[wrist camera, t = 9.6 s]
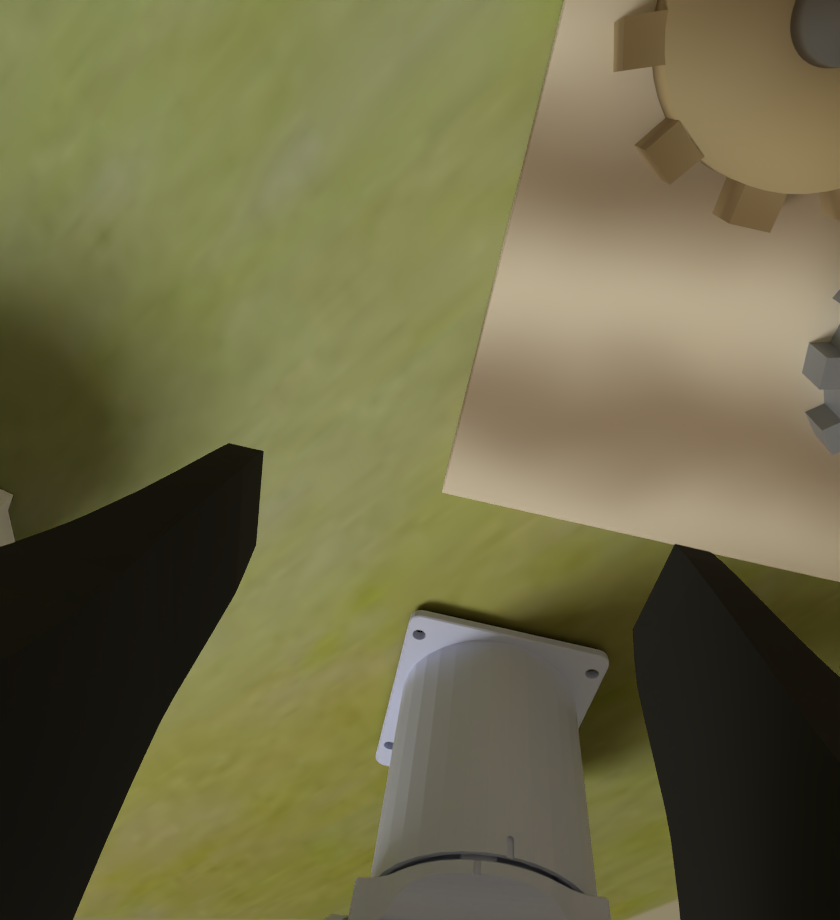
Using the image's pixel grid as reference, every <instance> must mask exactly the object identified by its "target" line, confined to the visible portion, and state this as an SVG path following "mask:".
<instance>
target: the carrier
mask: <svg viewBox="0 0 840 920" xmlns="http://www.w3.org/2000/svg"><path fill="white" fill-rule="evenodd" d="M839 290H840V0H564V2H563V6H562V10H561V14H560V18H559V22H558V26H557V30H556V34H555V38H554V42H553V46H552V50H551V54H550V58H549V62H548V66H547V70H546V74H545V78H544V82H543V86H542V90H541V94H540V98H539V102H538V106H537V110H536V114H535V118H534V122H533V126H532V130H531V134H530V138H529V142H528V146H527V150H526V154H525V158H524V162H523V166H522V170H521V174H520V178H519V182H518V186H517V190H516V194H515V198H514V202H513V206H512V210H511V214H510V218H509V222H508V226H507V230H506V234H505V238H504V242H503V246H502V250H501V254H500V258H499V262H498V266H497V270H496V274H495V278H494V282H493V286H492V290H491V294H490V298H489V302H488V306H487V310H486V314H485V318H484V322H483V326H482V330H481V334H480V338H479V342H478V346H477V350H476V354H475V358H474V362H473V366H472V370H471V374H470V378H469V382H468V386H467V390H466V394H465V398H464V402H463V406H462V410H461V414H460V418H459V422H458V426H457V430H456V434H455V438H454V442H453V446H452V450H451V454H450V458H449V462H448V466H447V470H446V474H445V479H444V485H443V491H442V493H447V494H451V495H455V496H460V497H464V498H469V499H473V500H478V501H482V502H486V503H491V504H495V505H500V506H504V507H509V508H513V509H518V510H522V511H526V512H531V513H535V514H540V515H544V516H549V517H553V518H557V519H562V520H566V521H571V522H575V523H580V524H584V525H588V526H593V527H597V528H602V529H606V530H611V531H615V532H620V533H624V534H628V535H633V536H637V537H642V538H646V539H651V540H655V541H659V542H664V543H668V544H673V545H675V544H678V545H682V546H687V547H691V548H696V549H700V550H705V551H709V552H711V553H713V554H717V555H721V556H726V557H730V558H735V559H739V560H744V561H748V562H753V563H757V564H761V565H766V566H770V567H775V568H779V569H784V570H788V571H792V572H797V573H801V574H806V575H810V576H815V577H819V578H823V579H828V580H832V581H837V582H840V452H839V453H836V454H834V455H832V454H831V453H830V452H829V450H828V449H827V448H826V447H825V446H824V445H823V444H822V443H821V441H820V440H819V439H818V438H817V437H816V436H815V434H814V431H813V429H812V427H811V425H810V422H809V420H808V418H807V416H806V413H805V412H806V411H808V410H811V409H813V408H815V407H817V406H820V405H822V404H824V391H823V390H819V389H818V388H817V387H816V386H815V385H814V384H813V383H812V382H811V381H810V380H809V379H808V378H807V377H806V376H805V375H804V374H803V373H802V370H803V366H804V362H805V357H806V353H807V349H808V344H809V343H815V342H830V341H831V339H832V337H833V335H834V334H835V332H836V330H837V328H838V326H839V324H840V303H839V302H837V301H836V300H834V299H833V297H834V296H835V294H836V293H837V292H838V291H839Z"/></svg>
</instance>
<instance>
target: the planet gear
mask: <svg viewBox="0 0 840 920" xmlns="http://www.w3.org/2000/svg"><path fill="white" fill-rule="evenodd" d="M833 299H834V300H836V301H837V302H839V303H840V290H839V291H838V292H837V293H836V294H835V296H834V297H833ZM802 373H803V374H804V375H805V376H806V377H807V378H808V379H809V380H810V381H811V382H812V383H813V384H814V385H815V386H816V387H817V388H818V389H819V390H823V391H824V404H822V405H820V406H817V407H815V408H813V409H811V410H808V411H806V412H805V413H806V416H807V418H808V420H809V422H810V425H811V427H812V429H813V431H814V434H815V436H816V437H817V438H818V439H819V440H820V441H821V443H822V444H823V445H824V446H825V447H826V448H827V449H828V450H829V452H830V453H831V454H832V455H834V454H836V453H839V452H840V324H839V326H838V328H837V330H836V332H835V334H834V335H833V337H832V339H831V341H830V342H815V343H809V344H808V349H807V353H806V357H805V362H804V366H803V370H802Z"/></svg>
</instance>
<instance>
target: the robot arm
mask: <svg viewBox="0 0 840 920" xmlns="http://www.w3.org/2000/svg"><path fill="white" fill-rule="evenodd" d="M262 464H263V451H261V450H256V449H252V448H247V447H243V446H239V445H234V444H230V443H229V444H227V445H224V446H222V447H220V448H218V449H216V450H215V451H213V452H211V453H209V454H207V455H205V456H203V457H202V458H200V459H198V460H196V461H194V462H192V463H191V464H189V465H187V466H185V467H183V468H181V469H180V470H178V471H176V472H174V473H172V474H170V475H168V476H166V477H164V478H162V479H160V480H159V481H157V482H155V483H153V484H151V485H149V486H147V487H145V488H143V489H141V490H139V491H137V492H135V493H133V494H131V495H128V496H126V497H124V498H122V499H120V500H118V501H115V502H113V503H111V504H109V505H107V506H105V507H102V508H100V509H98V510H96V511H94V512H92V513H89V514H87V515H85V516H83V517H80V518H78V519H75V520H73V521H71V522H68V523H66V524H63V525H60V526H58V527H55V528H53V529H50V530H47V531H44V532H42V533H39V534H36V535H33V536H31V537H28V538H25V539H22V540H19V541H16V542H13V543H10V544H7V545H4V546H1V547H0V920H73V918H74V915H75V913H76V911H77V908H78V906H79V904H80V901H81V899H82V896H83V894H84V892H85V889H86V887H87V885H88V882H89V880H90V878H91V875H92V873H93V871H94V868H95V866H96V863H97V861H98V859H99V856H100V854H101V852H102V849H103V847H104V845H105V842H106V840H107V838H108V836H109V833H110V831H111V829H112V827H113V824H114V822H115V820H116V818H117V815H118V813H119V811H120V809H121V806H122V804H123V802H124V800H125V797H126V795H127V793H128V791H129V788H130V786H131V784H132V782H133V779H134V777H135V775H136V773H137V771H138V769H139V767H140V764H141V762H142V760H143V758H144V756H145V754H146V752H147V749H148V747H149V745H150V743H151V741H152V739H153V736H154V734H155V732H156V730H157V728H158V726H159V724H160V722H161V720H162V718H163V716H164V714H165V712H166V711H167V709H168V707H169V705H170V703H171V701H172V699H173V698H174V696H175V694H176V693H177V691H178V689H179V688H180V686H181V684H182V683H183V681H184V679H185V678H186V676H187V674H188V673H189V671H190V669H191V668H192V666H193V664H194V662H195V661H196V659H197V657H198V656H199V654H200V652H201V651H202V649H203V647H204V646H205V644H206V642H207V641H208V639H209V637H210V636H211V634H212V632H213V631H214V629H215V627H216V626H217V624H218V622H219V620H220V619H221V617H222V615H223V614H224V612H225V610H226V609H227V607H228V605H229V603H230V602H231V600H232V598H233V596H234V595H235V593H236V591H237V588H238V586H239V584H240V582H241V579H242V577H243V575H244V573H245V570H246V568H247V565H248V563H249V561H250V558H251V556H252V553H253V551H254V548H255V546H256V539H257V526H258V514H259V501H260V489H261V476H262ZM416 630H421V631H424V632H423V633H419V632H417V631H416ZM633 642H634V658H635V668H636V679H637V686H638V691H639V696H640V700H641V705H642V709H643V714H644V718H645V723H646V728H647V732H648V736H649V741H650V745H651V749H652V753H653V758H654V762H655V766H656V771H657V775H658V780H659V784H660V788H661V793H662V797H663V801H664V806H665V810H666V815H667V821H668V826H669V831H670V837H671V843H672V851H673V860H674V868H675V876H676V884H677V892H678V900H679V908H680V919H681V920H840V677H839V676H838V675H837V674H836V673H835V672H833V671H832V670H831V669H830V668H829V667H828V666H827V665H826V664H825V663H824V662H823V661H822V660H821V659H819V658H818V657H817V656H816V655H815V654H814V653H813V652H812V651H811V650H810V649H809V648H808V647H807V646H806V645H805V644H804V643H803V642H802V641H801V640H800V639H799V638H798V637H797V636H796V635H795V634H794V633H793V632H792V631H791V630H790V629H789V628H788V627H787V626H786V625H785V624H784V623H783V622H782V621H781V620H780V619H779V618H778V617H777V616H776V615H775V614H774V613H773V612H772V611H771V610H770V609H769V608H768V607H767V606H766V605H765V604H764V603H763V602H762V601H761V600H760V599H759V598H758V597H757V596H756V595H755V594H754V593H753V592H752V591H751V590H750V589H749V588H748V587H747V586H746V585H745V584H744V583H743V582H742V581H741V580H740V579H739V578H738V577H737V576H736V575H735V574H734V573H733V572H732V571H731V570H730V569H729V568H728V567H727V566H726V565H725V564H724V563H723V562H722V561H720V560H719V559H718V558H717V557H716V556H715V555H714V554H712V553H711V552H709V551H705V550H700V549H696V548H691V547H687V546H682V545H678V544H675V545H674V547H673V549H672V551H671V553H670V555H669V557H668V559H667V561H666V563H665V565H664V568H663V570H662V572H661V574H660V576H659V578H658V580H657V582H656V584H655V586H654V588H653V590H652V592H651V594H650V596H649V598H648V600H647V602H646V604H645V606H644V608H643V610H642V612H641V614H640V616H639V618H638V620H637V622H636V624H635V626H634V628H633ZM608 667H609V660H608V656H607V654H606V653H605V652H603V651H601V650H598V649H593V648H589V647H584V646H580V645H576V644H571V643H567V642H562V641H558V640H554V639H549V638H545V637H540V636H536V635H531V634H527V633H523V632H518V631H514V630H509V629H505V628H500V627H496V626H492V625H487V624H483V623H478V622H474V621H470V620H465V619H461V618H456V617H452V616H447V615H443V614H439V613H434V612H430V611H425V610H418V611H415V612H413V613H412V614H411V616H410V619H409V623H408V627H407V631H406V635H405V639H404V643H403V647H402V651H401V655H400V659H399V663H398V667H397V671H396V675H395V679H394V683H393V687H392V691H391V695H390V699H389V703H388V707H387V711H386V715H385V719H384V723H383V727H382V731H381V735H380V739H379V743H378V747H377V752H376V760H377V761H378V762H379V763H380V764H382V765H386V766H389V772H388V778H387V784H386V790H385V796H384V801H383V807H382V813H381V819H380V825H379V830H378V836H377V842H376V848H375V854H374V860H373V865H372V871H371V877H358V878H357V879H356V880H355V885H354V890H353V896H352V901H351V906H350V911H349V916H347V915H339V914H331V915H329V916H328V917H326V918H325V919H324V920H611V916H610V908H609V901H608V899H607V898H605V897H599V896H597V890H596V881H595V872H594V863H593V855H592V846H591V837H590V828H589V819H588V810H587V801H586V792H585V784H584V775H583V766H582V757H581V748H580V739H579V730H578V729H579V727H580V725H581V723H582V721H583V719H584V717H585V714H586V712H587V710H588V708H589V706H590V704H591V702H592V700H593V698H594V696H595V694H596V692H597V690H598V688H599V686H600V684H601V682H602V680H603V677H604V675H605V673H606V671H607V669H608ZM590 669H594V671H588V670H590Z"/></svg>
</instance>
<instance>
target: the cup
mask: <svg viewBox="0 0 840 920" xmlns="http://www.w3.org/2000/svg"><path fill="white" fill-rule="evenodd" d="M12 498H13V495H12V494H10V493H8V492H6V491H4V490H2V489H0V547H1V546H4V545H7V544H10V543H13V542H15V539H14V534H13V530H12V526H11V521H10V517H9V512H8V509H9V506H10V504H11V501H12Z"/></svg>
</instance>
